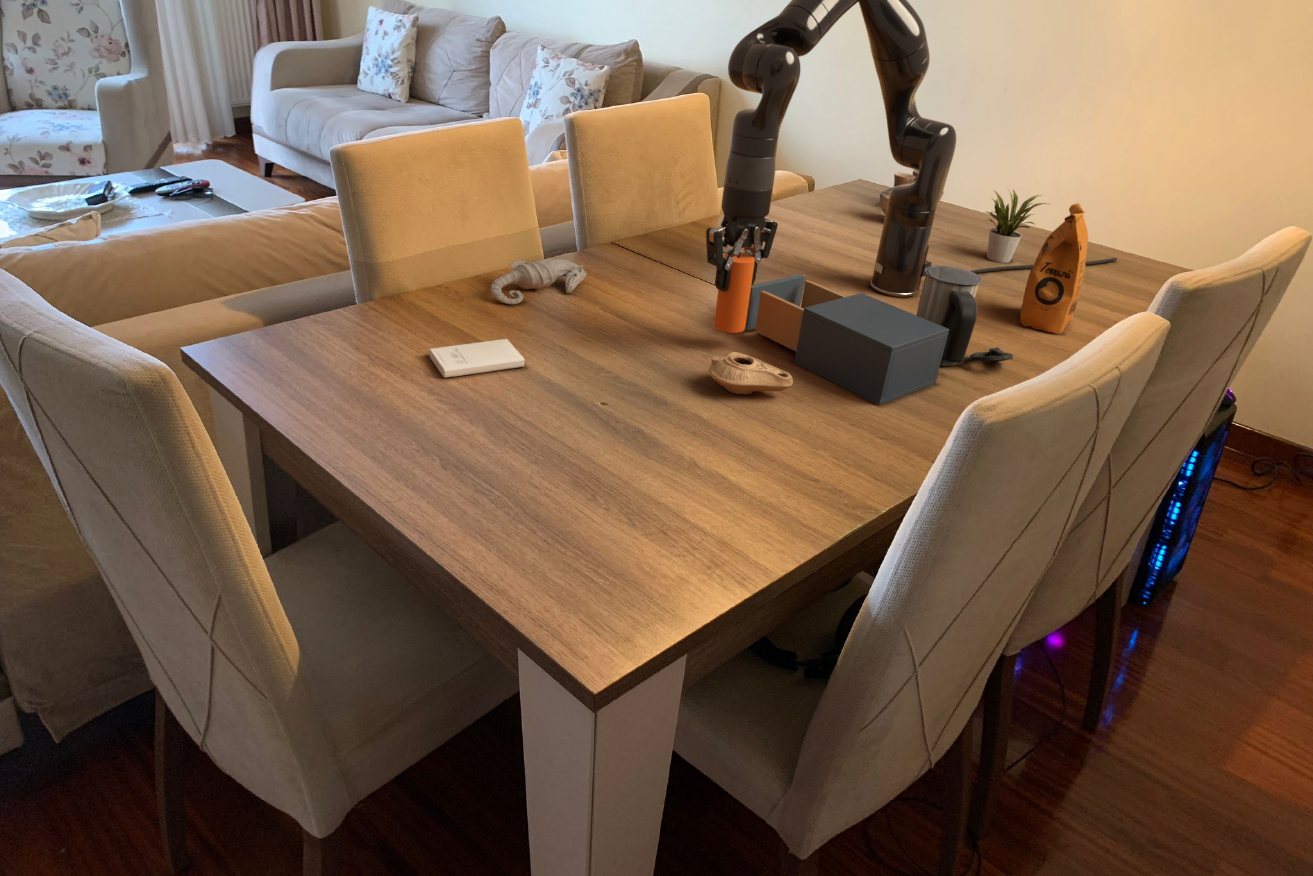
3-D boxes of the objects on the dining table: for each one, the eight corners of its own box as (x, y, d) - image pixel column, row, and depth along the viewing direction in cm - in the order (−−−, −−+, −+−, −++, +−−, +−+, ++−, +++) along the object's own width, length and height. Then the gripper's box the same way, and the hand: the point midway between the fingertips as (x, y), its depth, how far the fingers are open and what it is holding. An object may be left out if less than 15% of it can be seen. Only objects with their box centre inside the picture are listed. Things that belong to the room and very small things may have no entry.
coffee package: (1009, 324, 174) (1043, 210, 164) (1022, 306, 184) (1055, 197, 173) (1063, 338, 170) (1102, 222, 160) (1073, 319, 180) (1110, 208, 169)
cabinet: (794, 362, 150) (803, 307, 146) (850, 344, 159) (861, 292, 154) (879, 405, 139) (892, 347, 134) (935, 383, 148) (949, 329, 143)
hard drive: (524, 368, 140) (444, 379, 134) (506, 347, 146) (429, 356, 140) (524, 358, 139) (444, 369, 134) (506, 337, 145) (428, 346, 140)
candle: (729, 318, 155) (739, 245, 149) (751, 329, 152) (762, 254, 145) (707, 324, 152) (716, 249, 146) (729, 335, 149) (739, 259, 142)
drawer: (724, 319, 162) (729, 277, 158) (776, 306, 169) (782, 266, 166) (812, 364, 148) (820, 319, 144) (864, 347, 156) (873, 304, 152)
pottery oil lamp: (786, 409, 134) (772, 373, 130) (713, 411, 140) (697, 377, 136) (801, 369, 140) (788, 333, 135) (730, 373, 146) (715, 339, 142)
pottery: (866, 221, 230) (876, 173, 224) (904, 204, 248) (913, 159, 242) (909, 232, 224) (920, 183, 219) (944, 213, 243) (955, 168, 237)
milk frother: (894, 347, 160) (913, 265, 152) (965, 339, 166) (986, 260, 158) (946, 382, 148) (970, 296, 141) (1020, 373, 155) (1046, 290, 147)
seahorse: (526, 308, 158) (598, 266, 171) (478, 271, 160) (552, 233, 173) (521, 330, 161) (591, 287, 174) (474, 293, 164) (546, 254, 177)
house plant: (1042, 260, 213) (1063, 190, 205) (1029, 274, 203) (1051, 201, 195) (981, 245, 219) (1000, 177, 211) (965, 259, 209) (984, 187, 201)
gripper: (732, 193, 133) (718, 302, 142) (798, 183, 142) (781, 287, 150) (697, 180, 138) (686, 286, 147) (763, 172, 147) (749, 273, 155)
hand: (734, 286), depth 148 cm, fingers closed on candle, 5 cm apart
